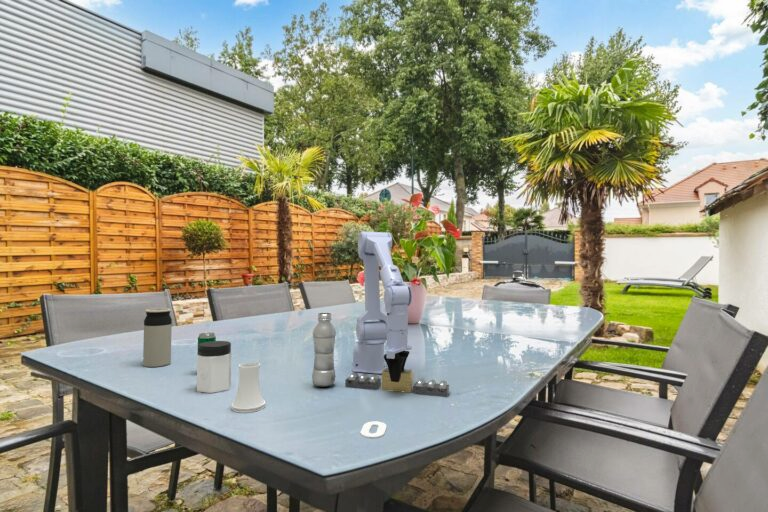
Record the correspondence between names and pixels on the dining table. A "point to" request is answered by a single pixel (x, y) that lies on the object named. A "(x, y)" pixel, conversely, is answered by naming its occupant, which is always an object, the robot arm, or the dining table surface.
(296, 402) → the dining table surface
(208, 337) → the soda can
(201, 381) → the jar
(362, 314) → the robot arm
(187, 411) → the dining table surface
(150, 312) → the travel mug
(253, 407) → the vase
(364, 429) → the chain link
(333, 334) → the plastic bottle
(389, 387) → the gold block
